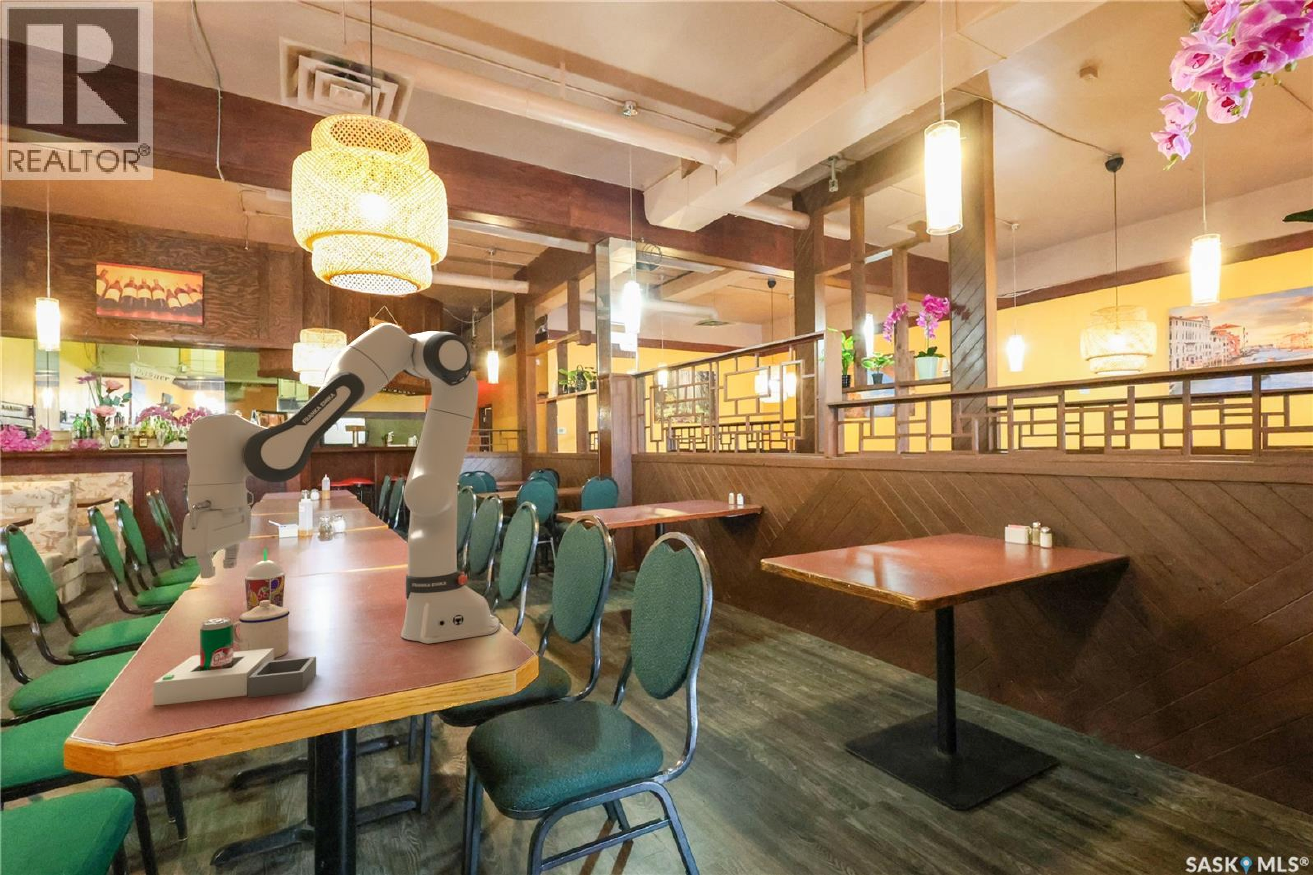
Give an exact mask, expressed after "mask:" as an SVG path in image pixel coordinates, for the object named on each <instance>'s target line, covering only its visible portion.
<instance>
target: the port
mask: <svg viewBox="0 0 1313 875" xmlns="http://www.w3.org/2000/svg"><path fill="white" fill-rule="evenodd" d="M233 660H234V666H233V667H232V668H226V669H216V670H206V671H200V654H197V655H191V656H190V657H189V658H187V659H186V660H184V661H183V662H181V663H180V664H179V665H177V666H176V667H174V668H172V669H171V670H169V671H168V672H167V673H165V674H164V675H163V676H161V677H159V678H158V679H157V680H155V681H154V682H153V706H154V707H155V705H156V706H163V705H171V704H172V705H173V704H182V703H190V702H198V701H199V702H200V701H207V700H216V699H217V700H218V699H224V698H225V699H226V698H234V697H244V696H249V684H248V678H249V677H250V676H251V675H252V674H253V673H254V672H255V671H256V670H257V669H258V668H259V667H261V666H262V665H263V664H264V663H265V662H266V661H275V658H274V648H270V649H260V650H249V651H241V650H238V651H233Z"/></svg>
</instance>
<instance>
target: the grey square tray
mask: <svg viewBox="0 0 1313 875" xmlns="http://www.w3.org/2000/svg"><path fill="white" fill-rule="evenodd" d="M316 676H317V656H315V655H314V656H308V657H297V658H288V659H276V660H275V659H274V661H266V662H265V663H264V664H263V665H262V666H261V667H259V668H258V669H257V670H256V671H255V672H254V673H253V674H252V675H251V676H250V677H249V678H248V684H249V694H248V699H249V698H257V697H265V696H275V695H285V694H290V693H291V694H292V693H300V692H301V693H302V692H304V691H305V689H306V688H307V687H308V686H309V684H310V683H311V681H312V680H313V679H314V678H315V677H316Z"/></svg>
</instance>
